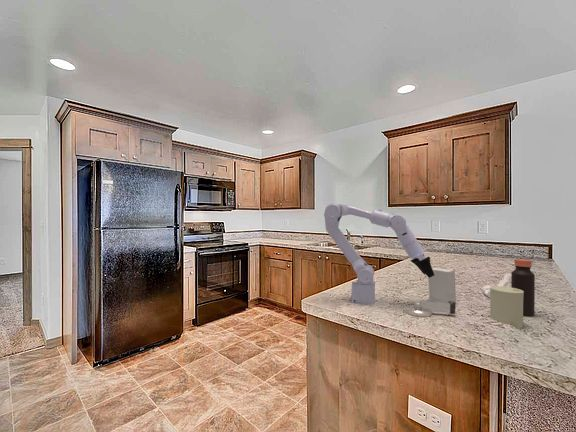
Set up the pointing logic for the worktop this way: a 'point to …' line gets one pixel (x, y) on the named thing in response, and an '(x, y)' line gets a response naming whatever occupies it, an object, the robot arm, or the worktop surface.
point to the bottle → (524, 284)
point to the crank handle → (429, 308)
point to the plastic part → (502, 283)
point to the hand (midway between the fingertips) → (429, 274)
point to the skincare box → (442, 285)
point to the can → (507, 305)
